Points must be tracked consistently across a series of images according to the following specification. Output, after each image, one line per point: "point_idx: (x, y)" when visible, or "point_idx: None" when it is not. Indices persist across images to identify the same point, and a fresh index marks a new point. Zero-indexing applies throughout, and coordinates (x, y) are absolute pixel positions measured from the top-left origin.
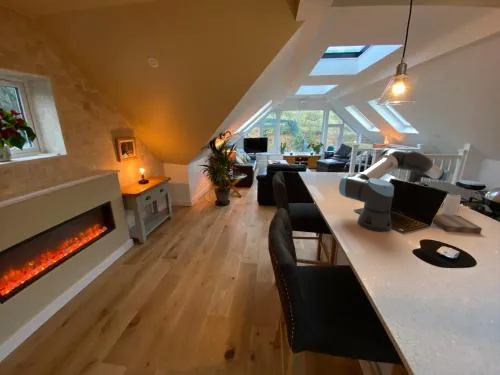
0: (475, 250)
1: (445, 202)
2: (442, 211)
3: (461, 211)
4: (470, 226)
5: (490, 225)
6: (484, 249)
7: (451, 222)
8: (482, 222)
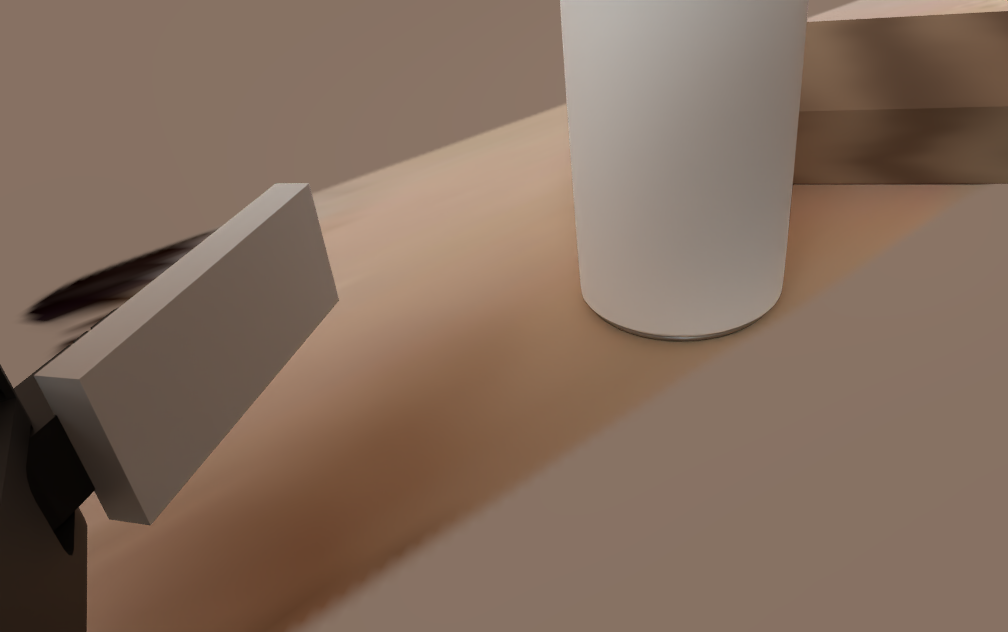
0: (938, 5)
1: (801, 71)
2: (784, 266)
3: (304, 382)
4: (811, 26)
5: (457, 156)
6: (872, 13)
7: (953, 36)
8: (458, 183)
